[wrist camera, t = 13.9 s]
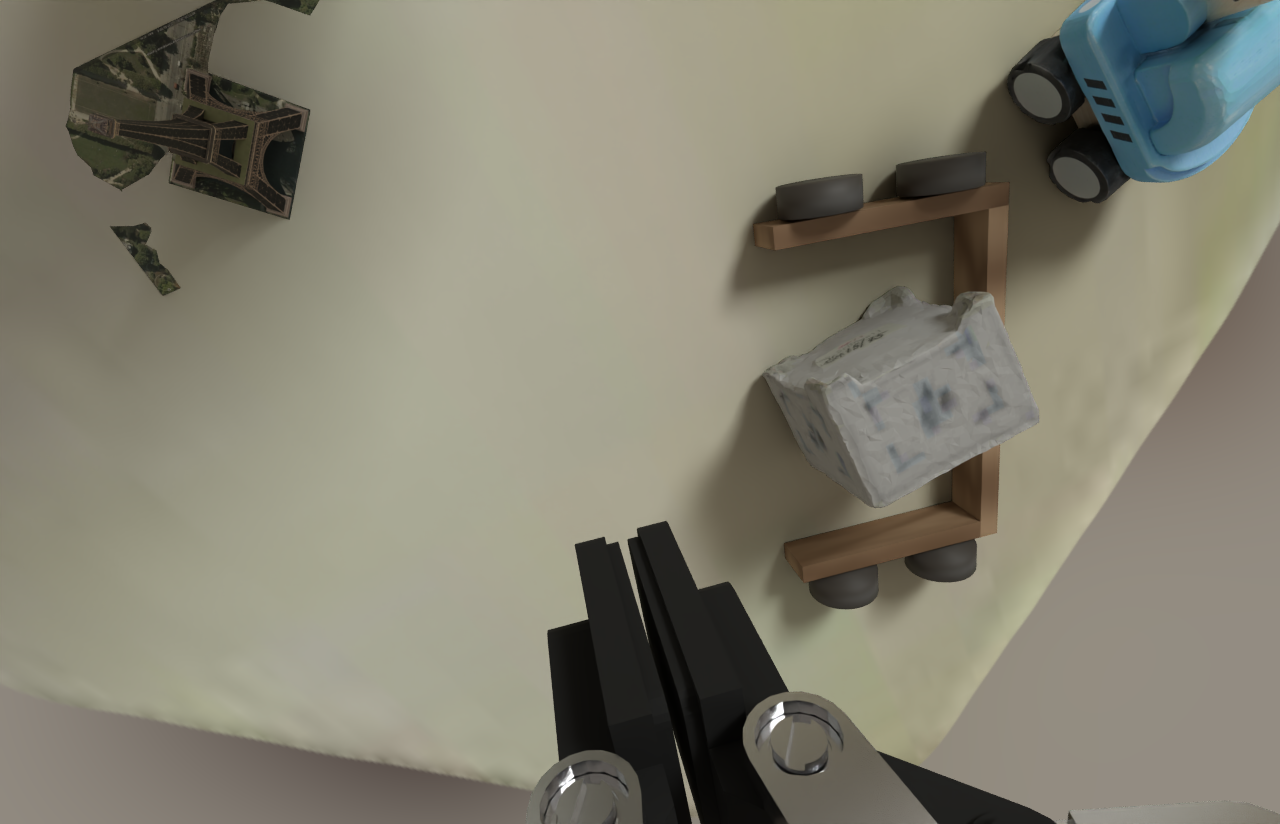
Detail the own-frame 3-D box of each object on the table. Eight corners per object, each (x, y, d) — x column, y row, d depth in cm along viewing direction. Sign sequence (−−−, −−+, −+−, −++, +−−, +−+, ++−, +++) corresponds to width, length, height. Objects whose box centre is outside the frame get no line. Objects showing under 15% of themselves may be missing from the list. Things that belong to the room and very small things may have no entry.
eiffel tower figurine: (318, -50, 30) (181, -220, 17) (437, 166, 33) (396, 154, 21) (18, 99, 29) (-342, 35, 17) (173, 300, 33) (-28, 369, 21)
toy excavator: (1063, -158, 33) (1568, -474, 17) (1178, 114, 39) (1632, 64, 23) (933, -36, 34) (1303, -232, 18) (1065, 213, 40) (1432, 230, 24)
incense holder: (890, 267, 39) (1015, 293, 29) (929, 383, 42) (1054, 441, 33) (747, 345, 39) (825, 397, 29) (796, 456, 42) (881, 536, 32)
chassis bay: (749, 190, 36) (780, 191, 32) (973, 149, 38) (1030, 145, 34) (787, 580, 45) (815, 619, 41) (967, 533, 47) (1010, 567, 43)
